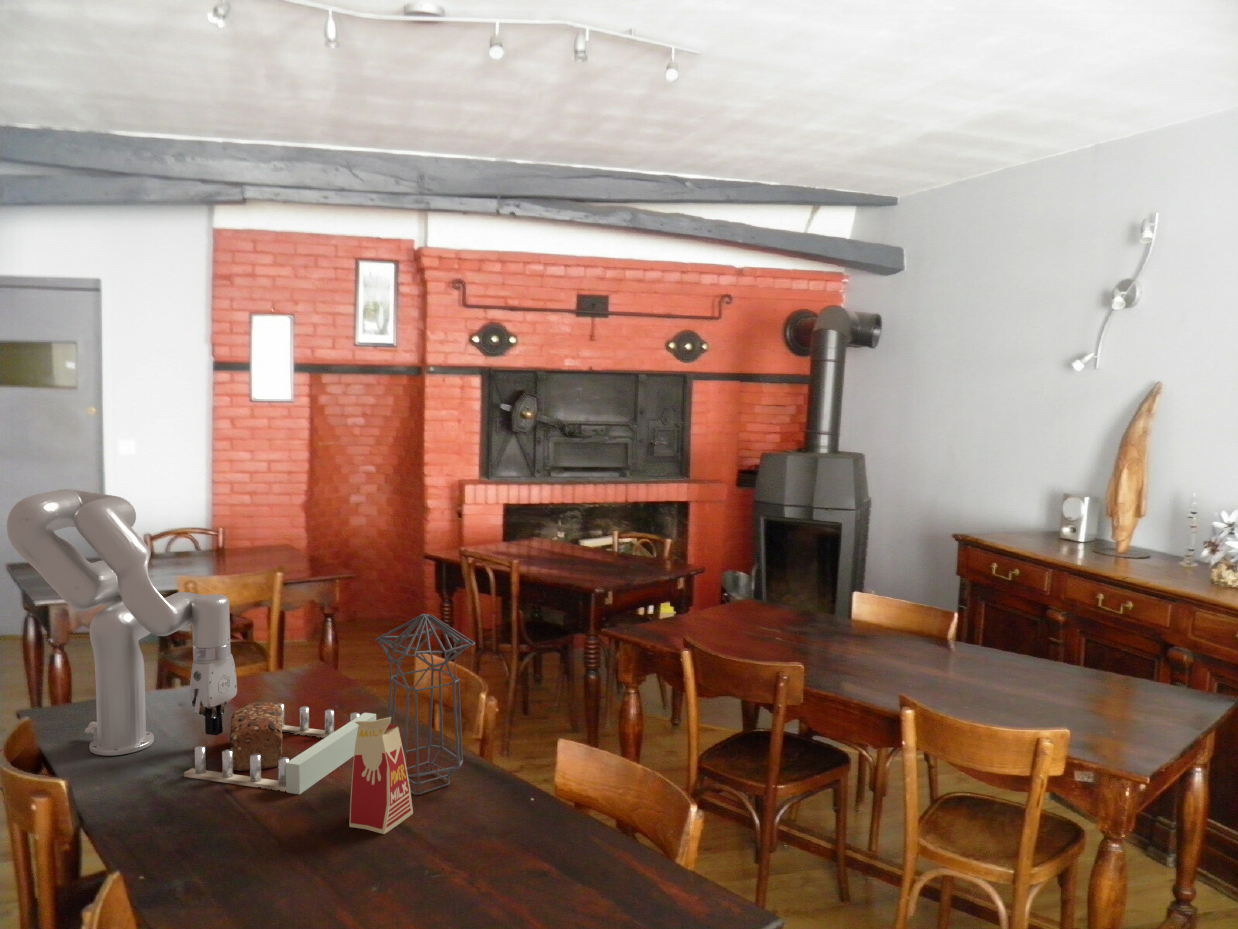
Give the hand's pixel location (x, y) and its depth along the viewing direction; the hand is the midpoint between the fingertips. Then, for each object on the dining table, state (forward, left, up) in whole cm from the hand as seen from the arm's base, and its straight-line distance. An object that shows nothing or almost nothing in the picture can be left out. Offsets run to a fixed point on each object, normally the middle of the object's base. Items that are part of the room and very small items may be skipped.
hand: (214, 733), depth 209 cm
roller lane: (+17, 0, -3) cm, 18 cm away
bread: (+11, 0, -4) cm, 12 cm away
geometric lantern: (+52, -3, -3) cm, 52 cm away
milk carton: (+51, -20, -4) cm, 55 cm away
